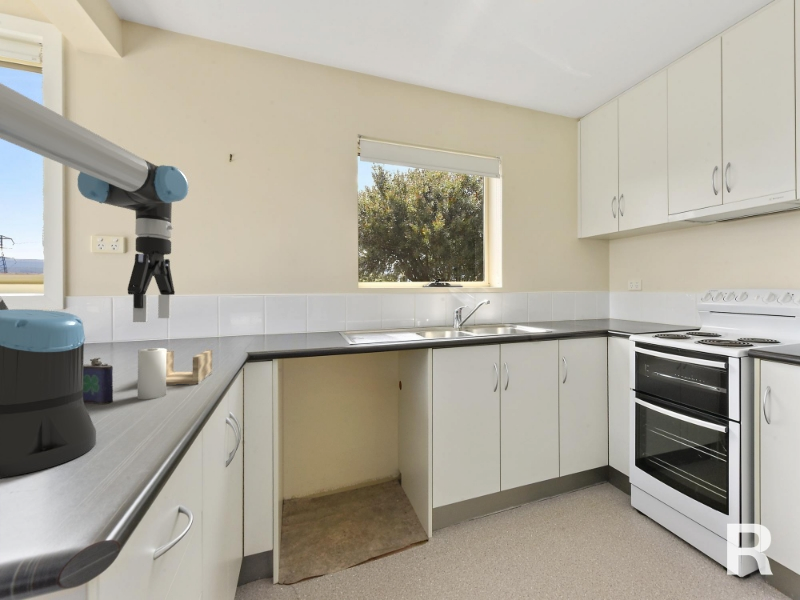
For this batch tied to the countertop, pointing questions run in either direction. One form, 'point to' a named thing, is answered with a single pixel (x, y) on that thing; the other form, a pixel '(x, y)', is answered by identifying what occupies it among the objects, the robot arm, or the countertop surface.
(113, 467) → the countertop surface
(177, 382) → the holder
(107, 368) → the flask
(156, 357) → the roll
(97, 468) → the countertop surface
